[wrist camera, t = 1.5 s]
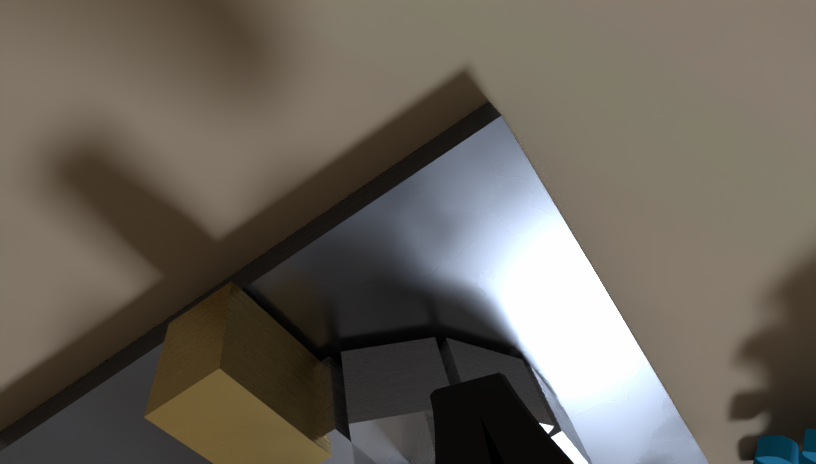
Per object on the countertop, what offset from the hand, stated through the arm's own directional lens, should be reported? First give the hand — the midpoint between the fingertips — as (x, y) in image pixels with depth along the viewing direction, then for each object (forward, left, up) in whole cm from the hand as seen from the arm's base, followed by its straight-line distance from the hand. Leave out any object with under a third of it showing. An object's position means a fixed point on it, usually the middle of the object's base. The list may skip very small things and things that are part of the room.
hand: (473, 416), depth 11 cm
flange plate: (-5, -6, -6) cm, 10 cm away
